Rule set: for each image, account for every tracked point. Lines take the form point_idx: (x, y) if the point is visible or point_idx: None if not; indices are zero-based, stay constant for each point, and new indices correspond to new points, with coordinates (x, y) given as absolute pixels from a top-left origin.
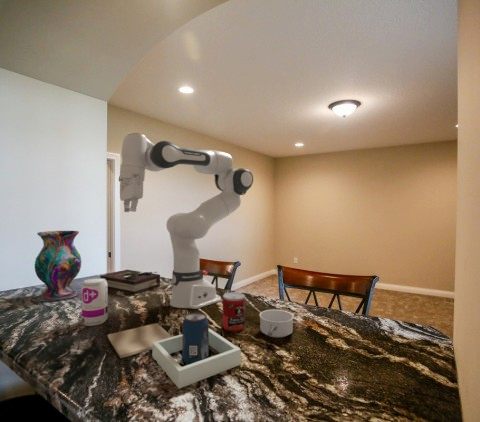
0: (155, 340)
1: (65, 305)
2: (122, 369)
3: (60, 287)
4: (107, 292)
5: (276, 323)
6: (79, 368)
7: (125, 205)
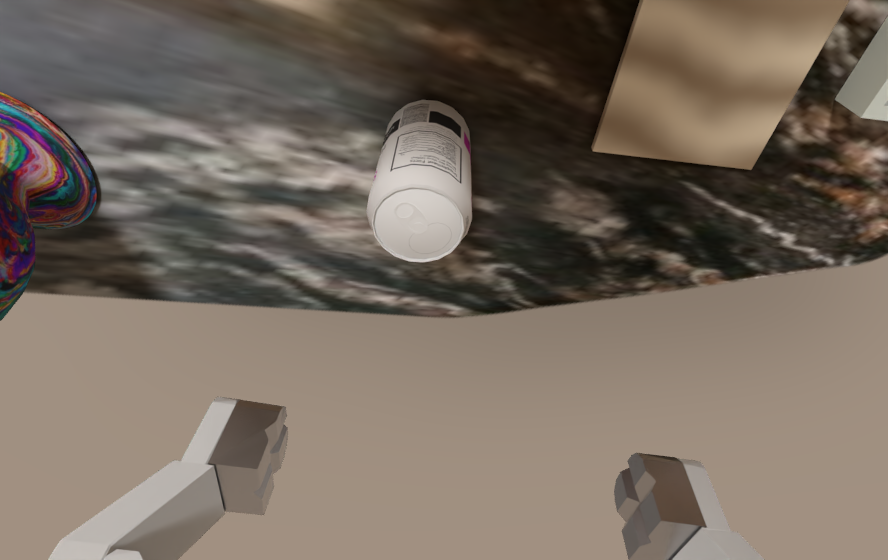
0: (781, 51)
1: (167, 168)
2: (798, 180)
3: (22, 189)
4: (434, 148)
5: None
6: (695, 241)
7: (186, 540)
